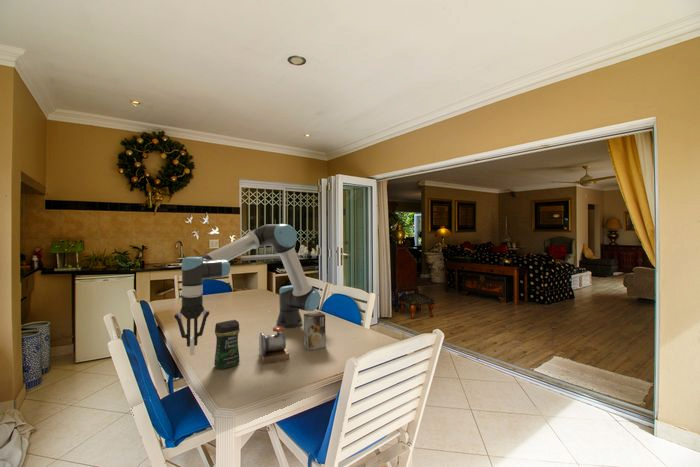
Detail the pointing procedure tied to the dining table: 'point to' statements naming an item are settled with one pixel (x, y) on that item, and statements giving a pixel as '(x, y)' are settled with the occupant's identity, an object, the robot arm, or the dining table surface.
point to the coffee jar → (227, 344)
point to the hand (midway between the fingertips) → (192, 353)
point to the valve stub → (273, 347)
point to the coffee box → (314, 331)
